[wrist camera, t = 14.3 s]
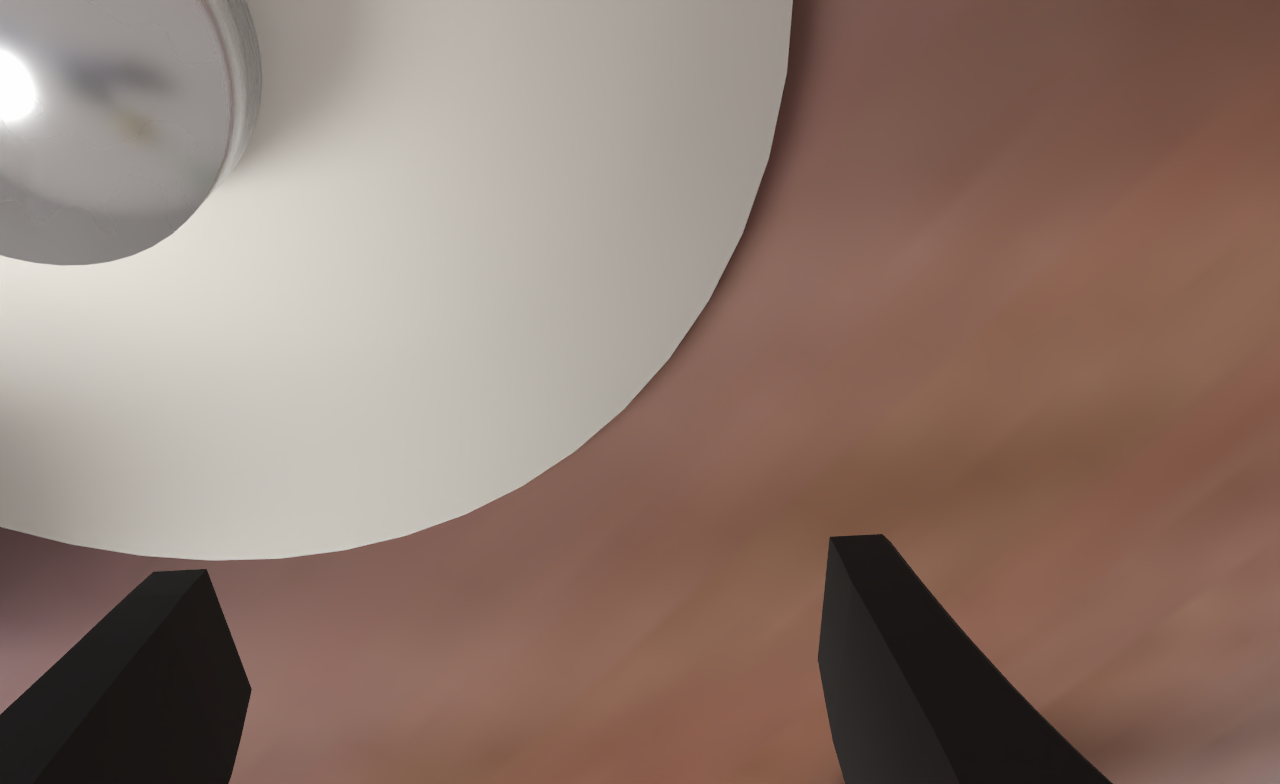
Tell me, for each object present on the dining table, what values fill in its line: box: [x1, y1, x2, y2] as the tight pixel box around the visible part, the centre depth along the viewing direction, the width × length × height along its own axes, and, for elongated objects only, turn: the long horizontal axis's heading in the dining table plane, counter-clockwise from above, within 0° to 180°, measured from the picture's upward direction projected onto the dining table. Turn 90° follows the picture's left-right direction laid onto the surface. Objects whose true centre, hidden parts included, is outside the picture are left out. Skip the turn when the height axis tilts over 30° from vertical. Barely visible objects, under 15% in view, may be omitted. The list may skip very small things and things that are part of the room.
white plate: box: [0, 0, 793, 561], centre depth 17 cm, size 25×25×1 cm
